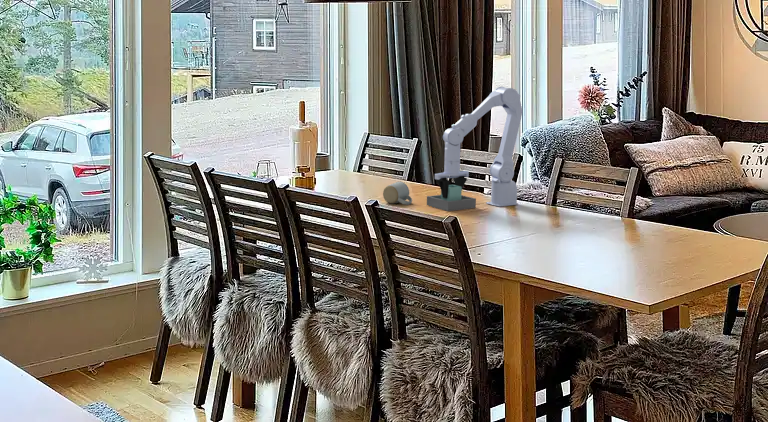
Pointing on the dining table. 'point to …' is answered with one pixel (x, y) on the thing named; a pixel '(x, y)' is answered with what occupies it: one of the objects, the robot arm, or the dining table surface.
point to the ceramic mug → (397, 193)
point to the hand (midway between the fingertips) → (451, 197)
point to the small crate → (453, 193)
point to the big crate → (451, 203)
